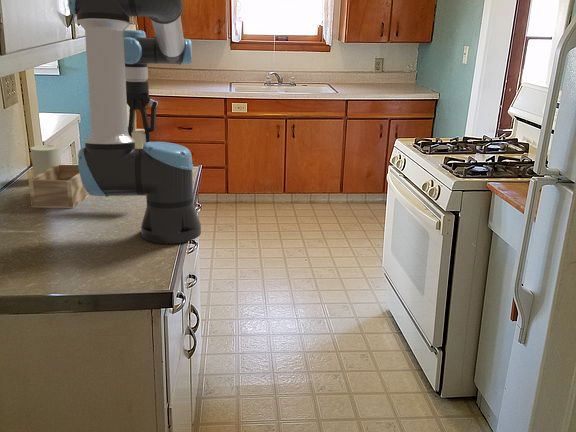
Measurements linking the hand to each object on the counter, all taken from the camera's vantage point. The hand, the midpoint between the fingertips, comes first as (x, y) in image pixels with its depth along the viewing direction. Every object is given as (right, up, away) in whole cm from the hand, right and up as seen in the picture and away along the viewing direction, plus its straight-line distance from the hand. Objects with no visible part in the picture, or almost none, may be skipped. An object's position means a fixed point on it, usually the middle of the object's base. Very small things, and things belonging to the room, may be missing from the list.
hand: (140, 151), depth 186 cm
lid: (0, -4, -1) cm, 4 cm away
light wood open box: (-18, -16, -17) cm, 30 cm away
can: (-31, -10, +1) cm, 33 cm away
